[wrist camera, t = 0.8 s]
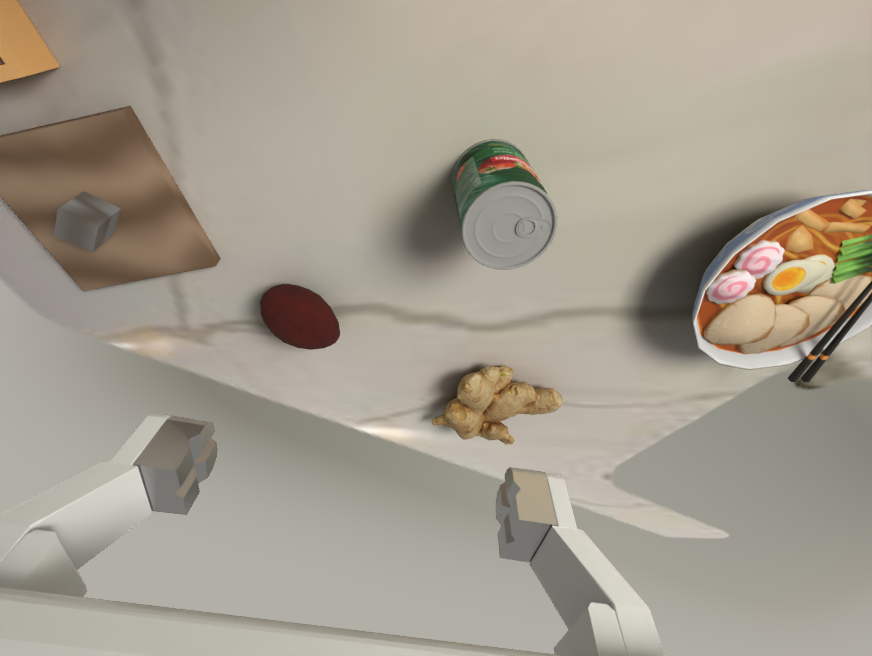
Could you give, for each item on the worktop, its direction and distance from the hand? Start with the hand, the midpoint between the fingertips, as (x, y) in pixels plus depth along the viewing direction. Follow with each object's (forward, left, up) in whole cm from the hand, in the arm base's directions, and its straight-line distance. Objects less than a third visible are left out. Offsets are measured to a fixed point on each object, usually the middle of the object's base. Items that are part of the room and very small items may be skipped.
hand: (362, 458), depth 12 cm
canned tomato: (+8, +8, -37) cm, 38 cm away
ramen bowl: (+24, +39, -37) cm, 58 cm away
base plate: (+3, -31, -36) cm, 48 cm away
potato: (+19, -16, -37) cm, 44 cm away
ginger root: (+40, +4, -37) cm, 54 cm away
